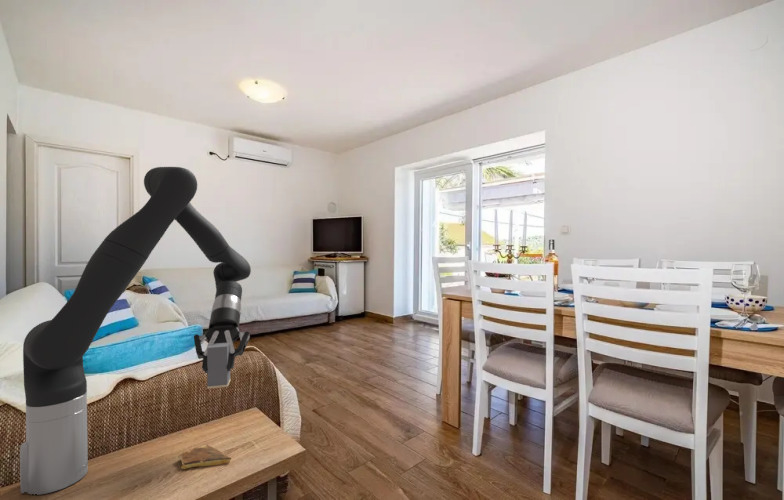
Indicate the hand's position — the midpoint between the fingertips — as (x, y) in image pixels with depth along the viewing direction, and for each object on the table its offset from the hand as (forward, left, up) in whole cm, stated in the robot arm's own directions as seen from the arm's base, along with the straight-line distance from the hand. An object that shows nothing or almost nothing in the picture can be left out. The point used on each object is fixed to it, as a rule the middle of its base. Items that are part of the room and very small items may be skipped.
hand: (217, 370), depth 87 cm
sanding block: (0, +2, -4) cm, 5 cm away
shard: (-1, -6, -19) cm, 20 cm away
